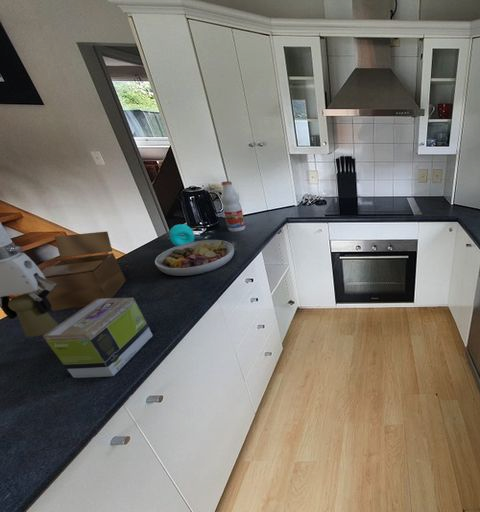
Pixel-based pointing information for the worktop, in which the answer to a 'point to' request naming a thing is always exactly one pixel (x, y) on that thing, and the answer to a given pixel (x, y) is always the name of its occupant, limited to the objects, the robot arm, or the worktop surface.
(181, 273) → the bowl
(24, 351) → the worktop surface
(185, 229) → the cyan donut
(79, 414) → the worktop surface
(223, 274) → the worktop surface
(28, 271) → the robot arm
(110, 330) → the tea box
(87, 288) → the carton
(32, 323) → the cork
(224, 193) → the fruit juice
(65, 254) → the flap
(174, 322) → the worktop surface
